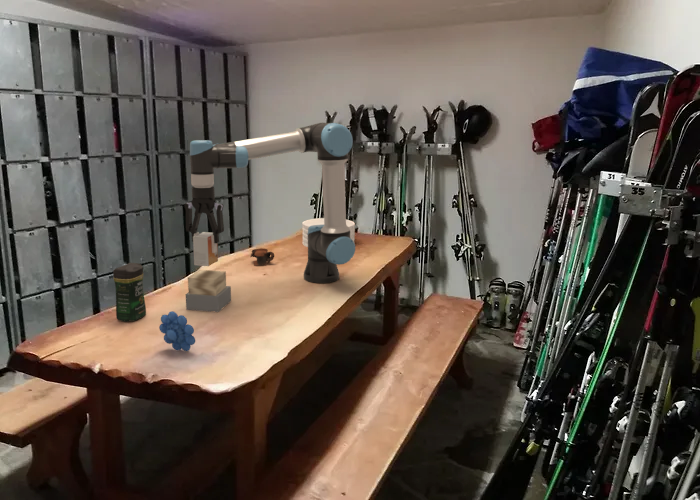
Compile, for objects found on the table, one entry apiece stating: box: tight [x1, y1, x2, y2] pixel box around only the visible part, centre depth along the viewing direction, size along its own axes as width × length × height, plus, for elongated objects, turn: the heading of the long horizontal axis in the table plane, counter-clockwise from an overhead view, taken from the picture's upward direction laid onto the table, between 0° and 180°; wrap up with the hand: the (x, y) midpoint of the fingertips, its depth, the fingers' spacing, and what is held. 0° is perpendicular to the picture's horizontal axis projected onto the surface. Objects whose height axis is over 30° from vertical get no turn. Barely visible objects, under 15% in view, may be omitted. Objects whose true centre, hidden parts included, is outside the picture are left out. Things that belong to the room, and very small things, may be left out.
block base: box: [185, 285, 232, 313], centre depth 195 cm, size 12×12×6 cm
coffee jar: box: [112, 262, 147, 323], centre depth 180 cm, size 10×8×19 cm
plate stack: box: [301, 217, 356, 248], centre depth 290 cm, size 28×28×12 cm
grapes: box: [158, 311, 196, 352], centre depth 156 cm, size 12×7×12 cm, turn 72°
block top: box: [187, 269, 227, 296], centre depth 193 cm, size 10×10×6 cm
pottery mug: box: [250, 247, 275, 267], centre depth 250 cm, size 12×10×8 cm
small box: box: [192, 231, 219, 267], centre depth 191 cm, size 8×6×10 cm
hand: (205, 251), depth 191 cm, fingers closed on small box, 6 cm apart
